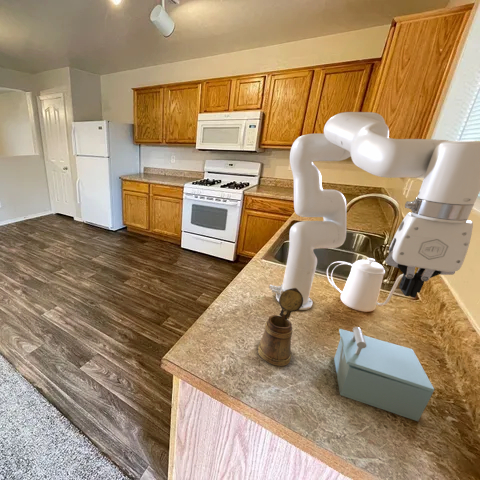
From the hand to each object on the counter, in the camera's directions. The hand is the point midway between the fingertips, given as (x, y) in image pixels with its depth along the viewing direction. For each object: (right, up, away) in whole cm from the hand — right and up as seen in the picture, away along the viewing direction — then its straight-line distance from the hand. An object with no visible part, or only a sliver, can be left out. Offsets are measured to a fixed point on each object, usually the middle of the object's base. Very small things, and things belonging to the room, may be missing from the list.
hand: (407, 293), depth 56 cm
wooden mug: (-19, -21, +21) cm, 35 cm away
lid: (0, -17, +7) cm, 18 cm away
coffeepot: (+22, -13, +43) cm, 49 cm away
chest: (0, -25, +10) cm, 27 cm away
